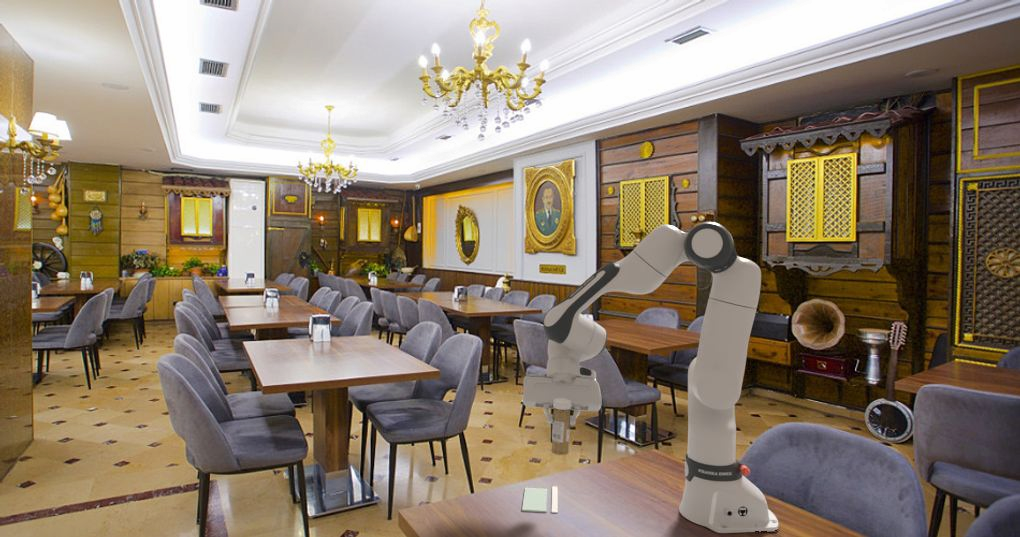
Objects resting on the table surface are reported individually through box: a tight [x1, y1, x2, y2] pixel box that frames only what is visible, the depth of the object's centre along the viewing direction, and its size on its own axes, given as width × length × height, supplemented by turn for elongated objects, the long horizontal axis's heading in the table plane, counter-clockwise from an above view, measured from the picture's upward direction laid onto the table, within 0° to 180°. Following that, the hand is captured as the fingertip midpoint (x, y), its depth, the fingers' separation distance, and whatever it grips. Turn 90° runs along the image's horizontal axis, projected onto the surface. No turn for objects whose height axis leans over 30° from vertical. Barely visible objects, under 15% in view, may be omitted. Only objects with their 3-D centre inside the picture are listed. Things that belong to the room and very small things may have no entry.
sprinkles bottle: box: [550, 398, 572, 456], centre depth 139 cm, size 5×5×14 cm
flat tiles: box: [521, 485, 559, 514], centre depth 143 cm, size 9×15×1 cm, turn 175°
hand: (561, 423), depth 139 cm, fingers closed on sprinkles bottle, 4 cm apart
